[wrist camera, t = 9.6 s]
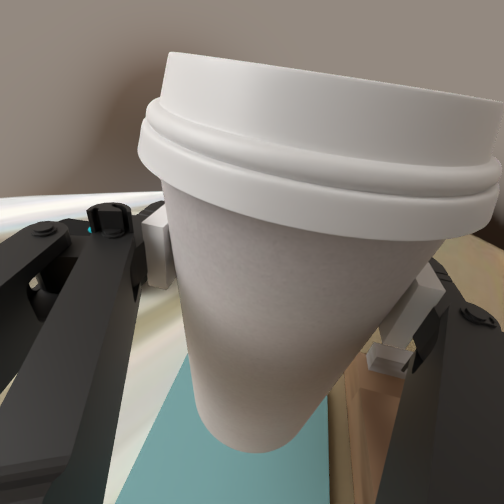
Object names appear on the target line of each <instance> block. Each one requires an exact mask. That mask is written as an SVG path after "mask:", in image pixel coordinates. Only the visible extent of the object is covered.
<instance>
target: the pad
mask: <svg viewBox="0 0 504 504" xmlns="http://www.w3.org/2000/svg"><path fill="white" fill-rule="evenodd" d="M115 504H330V497H329V451H328V406H327V395H326V397H325V398H324V399H323V401H322V402H321V403H320V405H319V406H318V407H317V409H316V410H315V411H314V413H313V414H312V415H311V417H310V418H309V419H308V421H307V422H306V423H305V425H304V426H303V427H302V429H301V430H300V431H299V433H298V434H297V435H296V436H295V437H294V438H293V439H292V440H291V441H290V442H288V443H287V444H286V445H284V446H282V447H281V448H278V449H276V450H273V451H270V452H266V453H246V452H241V451H238V450H235V449H232V448H230V447H228V446H226V445H225V444H223V443H222V442H220V441H219V440H218V439H216V438H215V437H214V436H213V435H212V434H211V433H210V432H209V430H208V429H207V428H206V426H205V425H204V423H203V422H202V420H201V418H200V416H199V413H198V410H197V407H196V402H195V396H194V390H193V383H192V376H191V369H190V363H189V356H188V354H187V356H186V358H185V360H184V362H183V364H182V366H181V368H180V370H179V372H178V374H177V376H176V378H175V381H174V383H173V385H172V387H171V389H170V391H169V393H168V395H167V397H166V399H165V401H164V403H163V405H162V407H161V410H160V412H159V414H158V416H157V418H156V420H155V422H154V424H153V426H152V428H151V430H150V432H149V434H148V436H147V438H146V441H145V443H144V445H143V447H142V449H141V451H140V453H139V455H138V457H137V459H136V461H135V463H134V465H133V467H132V469H131V472H130V474H129V476H128V478H127V480H126V482H125V484H124V486H123V488H122V490H121V492H120V494H119V496H118V498H117V501H116V503H115Z"/></svg>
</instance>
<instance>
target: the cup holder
mask: <svg viewBox="0 0 504 504" xmlns="http://www.w3.org/2000/svg"><path fill="white" fill-rule="evenodd" d="M413 353H414V352H412V351H408V350H404V349H400V348H396V347H392V346H388V345H384V344H380V343H376V342H374V343H373V344H372V346H371V348H370V349H369V351H368V353H367V354H366V353H362V352H359V353H358V354H357V356H356V357H355V358H354V360H353V361H352V362H351V363H350V365H349V366H348V367H347V369H346V370H345V371H344V377H345V389H346V402H347V414H348V426H349V439H350V451H351V463H352V476H353V488H354V500H355V504H375V501H376V497H377V493H378V489H379V485H380V481H381V476H382V472H383V468H384V464H385V460H386V456H387V452H388V448H389V443H390V439H391V435H392V431H393V427H394V423H395V419H396V415H397V410H398V406H399V402H400V398H401V394H402V390H403V386H404V382H405V378H406V373H407V369H406V370H405V372H402V371H401V369H402V368H403V366H404V365H405V364H406V362H407V361H408V359H409V358H410V357H411V355H412V354H413Z"/></svg>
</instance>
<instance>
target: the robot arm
mask: <svg viewBox="0 0 504 504" xmlns="http://www.w3.org/2000/svg"><path fill="white" fill-rule="evenodd" d="M86 211H87V216H88V220H89V224H90V228H91V232H92V233H91V235H90V236H75V235H70V234H69V230H68V227H67V225H65V224H64V223H61V222H54V221H44V222H43V221H42V222H38V223H36V224H32V225H29V226H27V227H25V228H23V229H22V230H20V231H19V232H17V233H16V234H14V235H13V236H11V237H10V238H8V239H6V240H5V241H3V242H2V243H0V394H1V393H2V391H3V390H4V389H5V388H6V386H7V385H8V384H9V383H10V382H11V380H12V379H13V378H14V377H15V375H16V374H17V373H18V374H17V376H16V378H15V379H14V381H13V383H12V385H11V387H10V389H9V391H8V393H7V395H6V397H5V398H4V400H3V402H2V404H1V406H0V504H103V500H104V495H105V489H106V484H107V478H108V473H109V467H110V462H111V456H112V451H113V445H114V439H115V434H116V428H117V423H118V417H119V412H120V406H121V401H122V395H123V390H124V384H125V379H126V373H127V368H128V362H129V357H130V351H131V346H132V340H133V335H134V329H135V324H136V318H137V312H138V307H139V301H140V296H141V290H142V289H141V282H140V281H141V280H142V279H143V278H144V277H145V276H146V274H147V278H148V285H149V286H153V287H157V288H161V289H165V290H167V289H168V288H169V286H170V285H171V284H172V282H173V281H174V279H175V278H176V277H177V276H176V270H175V263H174V257H173V250H172V244H171V238H170V231H169V225H168V219H167V213H166V207H165V201H158V202H155V203H152V204H150V205H149V206H148V207H146V208H145V209H144V210H142V211H141V212H140V213H139V214H137V215H136V216H134V217H133V218H132V215H131V208H130V207H129V206H127V205H125V204H122V203H114V202H112V203H102V204H97V205H94V206H92V207H90V208H89V209H88V210H86ZM34 277H36V279H37V281H38V284H37V285H36V286H35V287H34V288H32V289H31V287H30V285H29V282H30V281H31V280H32V279H33V278H34ZM452 282H453V281H452V279H451V278H450V276H448V273H447V272H446V270H445V269H444V267H443V266H442V265H441V264H440V263H439V262H437V261H436V260H435V259H434V258H431V259H430V260H429V261H428V263H427V264H426V265H425V267H424V268H423V269H422V271H421V272H420V273H419V274H418V276H417V277H416V278H415V280H414V281H413V282H412V283H411V285H410V286H409V287H408V289H407V290H406V291H405V293H404V294H403V295H402V296H401V298H400V299H399V300H398V302H397V303H396V304H395V306H394V307H393V308H392V309H391V311H390V312H389V313H388V315H387V316H386V317H385V319H384V320H383V321H382V323H381V324H380V325H379V331H380V335H381V339H382V343H383V344H385V345H389V346H393V347H397V348H401V349H405V348H406V347H407V346H408V344H409V343H410V341H411V340H412V339H414V342H415V345H416V348H417V349H416V350H415V351H414V353H413V354H412V355H411V357H410V358H409V359H408V361H407V362H406V364H405V365H404V366H403V368H402V369H401V371H402V372H405V370H406V369H407V373H406V378H405V382H404V386H403V390H402V394H401V398H400V402H399V406H398V410H397V415H396V419H395V423H394V427H393V431H392V435H391V439H390V443H389V448H388V452H387V456H386V460H385V464H384V468H383V472H382V476H381V481H380V485H379V489H378V493H377V497H376V501H375V504H504V332H501V327H500V325H499V323H498V321H497V320H496V319H495V318H494V317H493V316H492V315H491V314H489V313H488V312H487V311H485V310H484V309H482V308H480V307H478V306H476V305H474V304H471V303H468V302H466V301H465V299H464V298H463V296H462V295H461V293H460V292H459V290H458V289H457V287H456V286H455V284H454V283H452Z"/></svg>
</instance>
